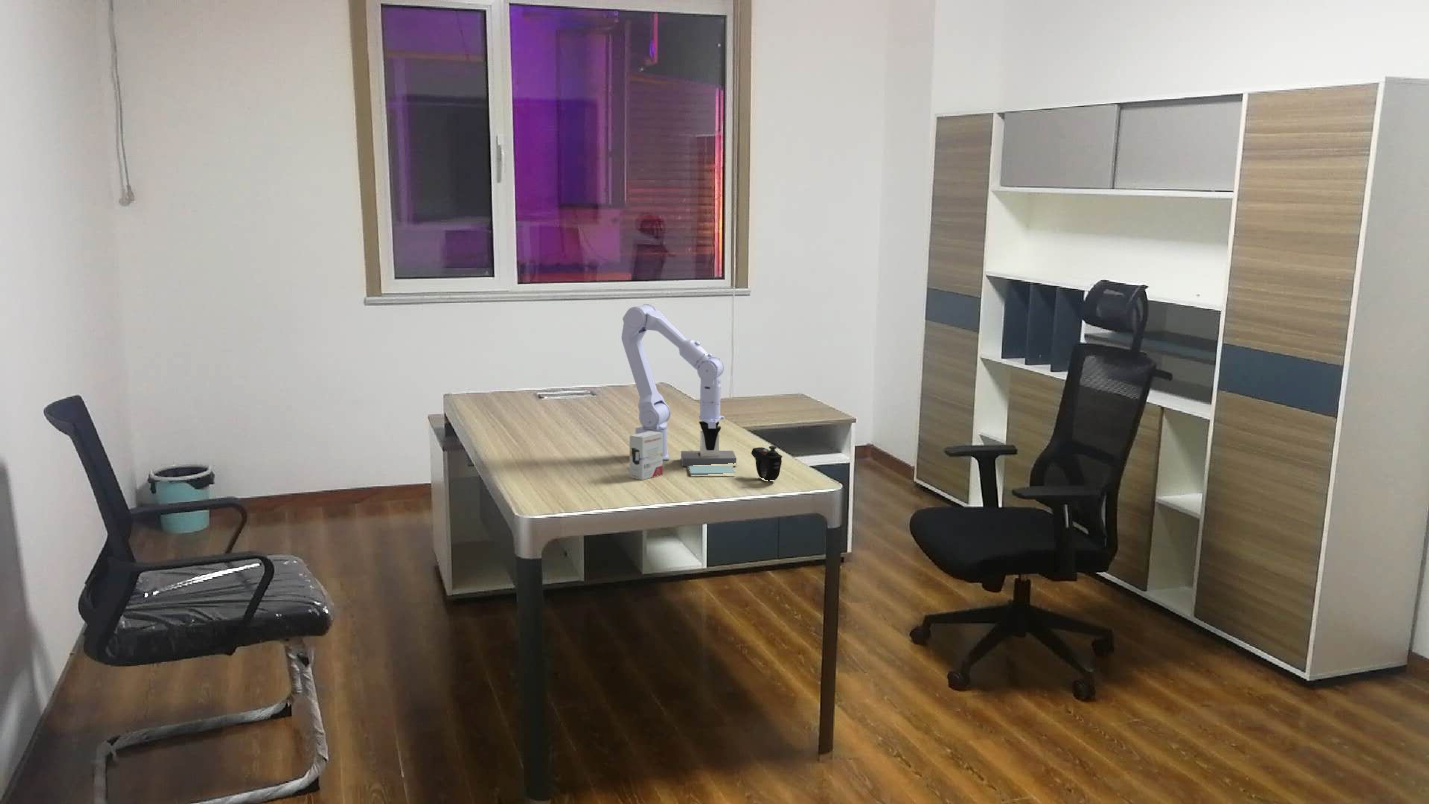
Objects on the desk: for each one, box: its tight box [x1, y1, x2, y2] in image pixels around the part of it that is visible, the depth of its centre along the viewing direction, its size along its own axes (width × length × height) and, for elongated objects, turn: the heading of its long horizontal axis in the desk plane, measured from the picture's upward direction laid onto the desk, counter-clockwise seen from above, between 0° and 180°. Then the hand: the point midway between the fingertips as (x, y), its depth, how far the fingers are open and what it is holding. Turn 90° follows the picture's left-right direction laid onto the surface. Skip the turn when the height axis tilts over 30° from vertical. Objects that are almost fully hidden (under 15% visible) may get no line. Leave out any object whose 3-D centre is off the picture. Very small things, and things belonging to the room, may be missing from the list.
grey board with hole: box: [680, 450, 737, 467], centre depth 311 cm, size 15×9×2 cm, turn 95°
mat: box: [688, 466, 736, 475], centre depth 300 cm, size 12×8×1 cm, turn 95°
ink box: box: [629, 431, 664, 481], centre depth 295 cm, size 9×5×12 cm, turn 141°
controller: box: [750, 445, 783, 482], centre depth 293 cm, size 4×12×10 cm, turn 24°
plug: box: [699, 430, 720, 457], centre depth 310 cm, size 5×4×8 cm
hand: (709, 448), depth 311 cm, fingers closed on plug, 4 cm apart
